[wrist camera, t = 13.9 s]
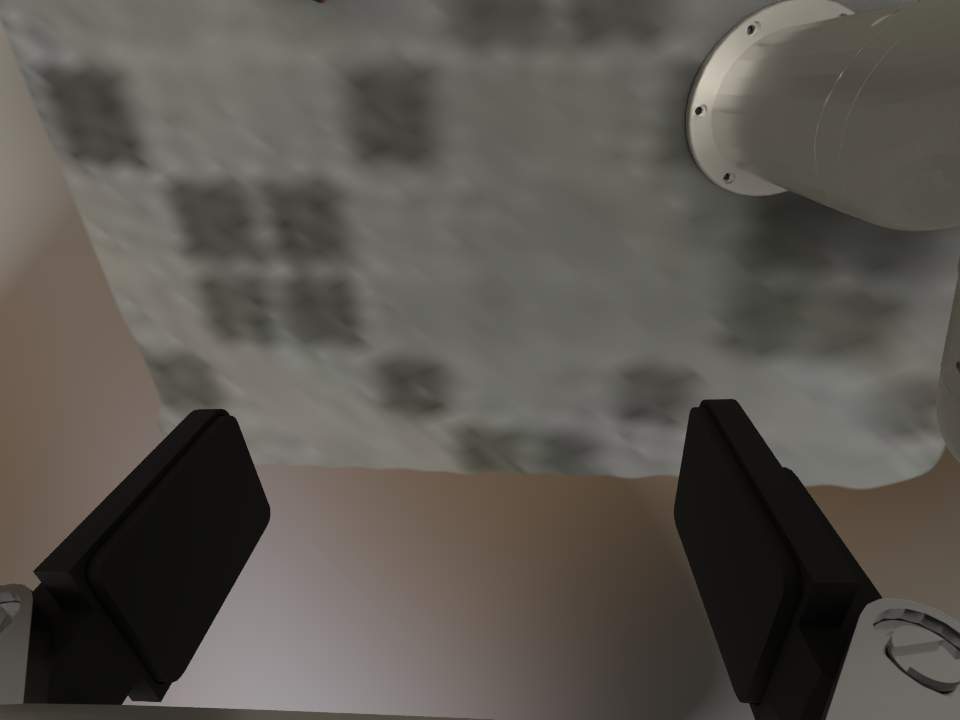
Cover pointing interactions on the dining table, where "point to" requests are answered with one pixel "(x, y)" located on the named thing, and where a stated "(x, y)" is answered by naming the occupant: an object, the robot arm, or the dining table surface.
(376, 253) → the dining table surface
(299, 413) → the dining table surface
